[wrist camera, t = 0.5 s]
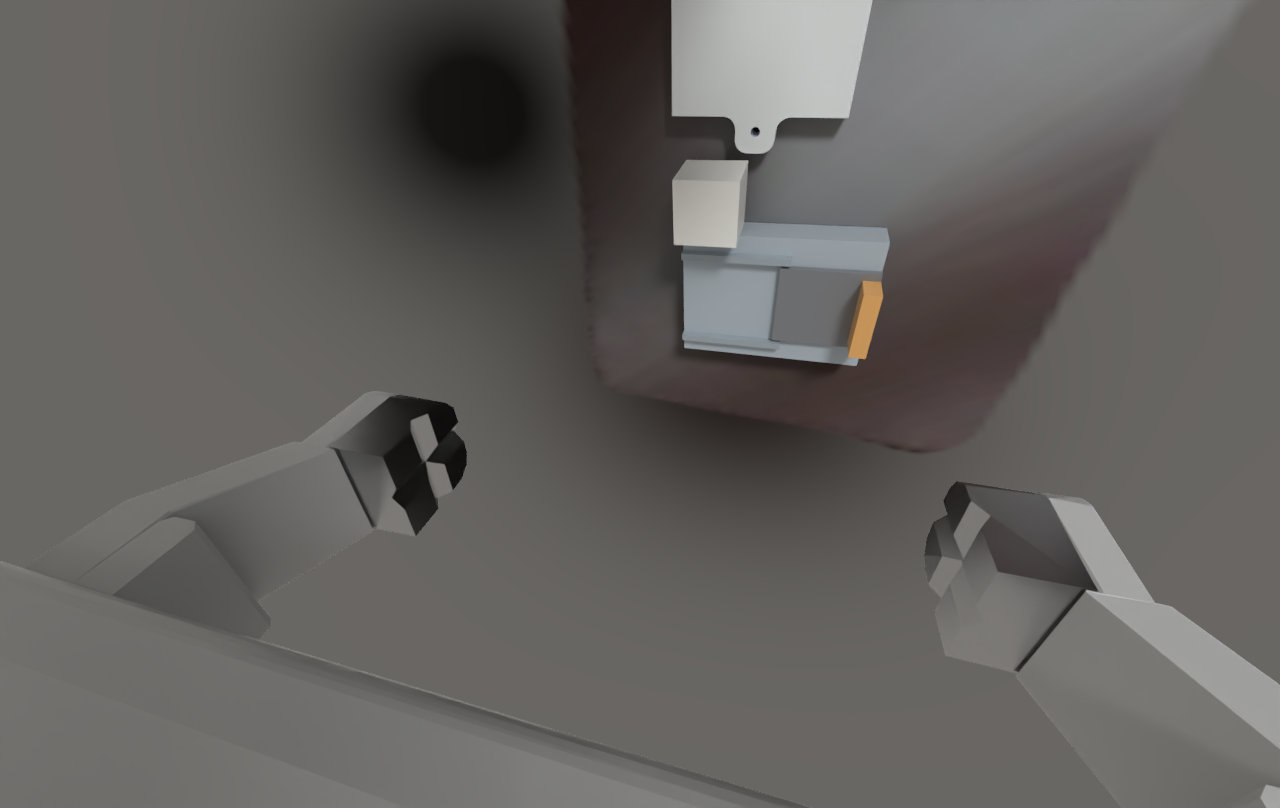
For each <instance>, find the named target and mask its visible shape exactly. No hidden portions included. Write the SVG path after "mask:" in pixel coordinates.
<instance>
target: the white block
mask: <svg viewBox="0 0 1280 808" xmlns="http://www.w3.org/2000/svg"><path fill="white" fill-rule="evenodd" d="M748 161H749V160H686V161H685V162H684V164H683V165H682V167H681V168H680V170H679V171H678V172H677V174H676V175H675V177H674V178H673V180H672V189H673V231H674V245H688V246H707V247H726V248H736V247H737V244H738V241H739V238H740V234H741V231H742V228H743V225H744V218H745V203H746V189H747V175H748Z"/></svg>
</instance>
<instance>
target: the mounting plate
mask: <svg viewBox="0 0 1280 808" xmlns="http://www.w3.org/2000/svg"><path fill="white" fill-rule="evenodd" d="M871 5H872V0H671V7H672V116H705V117H727V118H729V119H730V120H731V121H732V122H733V123H734V126H735V144H736V147H737V149H738V150H739V151H741V152H743V153H751V154H762V153H765V152H767V151H769V150H770V149H771V147H772V146H773V144H774V141H775V137H776V131H777V126H778V124H779V123H780V122H781V121H782V120H784V119H786V118H791V117H792V118H849V113H850V108H851V103H852V98H853V93H854V88H855V84H856V79H857V74H858V69H859V64H860V59H861V54H862V49H863V44H864V39H865V34H866V30H867V25H868V20H869V15H870V10H871ZM754 127H757V128H759V130H760V131H759V132H755V131H754V130H753V128H754Z"/></svg>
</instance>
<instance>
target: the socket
mask: <svg viewBox="0 0 1280 808" xmlns="http://www.w3.org/2000/svg"><path fill="white" fill-rule="evenodd" d="M889 245H890V241H889V236H888V231H887V228H878V227H853V226H828V225H802V224H777V223H752V222H744V225H743V228H742V231H741V234H740V238H739V241H738V244H737V247H736V248H726V247H707V246H688V245H683V251H682V253H681V260H683V272H684V332H683V335H682V339H683V340H684V348H691V349H701V350H710V351H720V352H729V353H739V354H748V355H758V356H767V357H777V358H786V359H796V360H805V361H815V362H824V363H834V364H843V365H853V366H857V362H858V359H859V358H851V357H848V347H839V346H828V345H818V344H808V343H797V342H787V341H777V340H771V339H772V332H773V324H774V316H775V308H776V300H777V292H778V284H779V276H780V268H781V266H784V267H791V266H796V267H812V268H829V269H846V270H862V271H879V272H882V270H883V267H884V263H885V259H886V256H887V252H888V248H889Z"/></svg>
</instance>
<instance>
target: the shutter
mask: <svg viewBox="0 0 1280 808" xmlns="http://www.w3.org/2000/svg"><path fill="white" fill-rule="evenodd" d="M882 276H883V273H882V272H879V271H862V270H846V269H829V268H812V267H796V266H791V267H784V266H781V268H780V276H779V284H778V292H777V300H776V308H775V316H774V324H773V332H772V339H771V340H777V341H787V342H797V343H808V344H818V345H828V346H839V347H848V357H851V358H861V359H866V355H867V352H868V348H869V345H870V341H871V338H872V334H873V331H874V327H875V323H876V320H877V316H878V313H879V309H880V306H881V302H882V299H883V292H882V286H881V280H882Z"/></svg>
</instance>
